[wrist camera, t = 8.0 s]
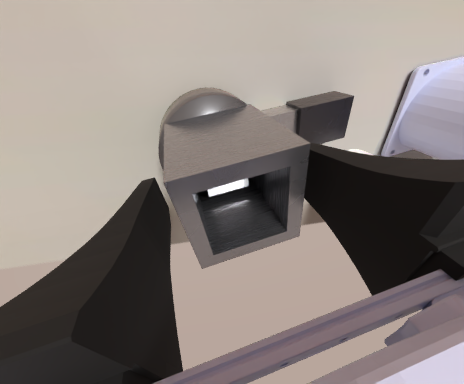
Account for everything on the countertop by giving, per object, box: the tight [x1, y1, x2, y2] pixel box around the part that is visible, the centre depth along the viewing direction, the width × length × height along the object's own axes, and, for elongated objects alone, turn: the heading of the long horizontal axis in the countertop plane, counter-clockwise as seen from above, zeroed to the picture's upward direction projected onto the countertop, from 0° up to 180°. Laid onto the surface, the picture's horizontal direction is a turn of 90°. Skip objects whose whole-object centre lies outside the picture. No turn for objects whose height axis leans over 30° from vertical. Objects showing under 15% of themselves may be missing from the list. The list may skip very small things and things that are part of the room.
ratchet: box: [159, 88, 354, 197], centre depth 13 cm, size 14×7×5 cm, turn 98°
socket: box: [164, 104, 310, 269], centre depth 10 cm, size 5×5×6 cm
